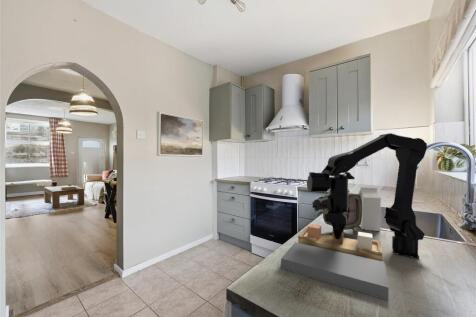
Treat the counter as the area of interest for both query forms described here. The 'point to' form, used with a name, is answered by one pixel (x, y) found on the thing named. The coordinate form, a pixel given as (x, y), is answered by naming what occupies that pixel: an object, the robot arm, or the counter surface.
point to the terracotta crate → (314, 231)
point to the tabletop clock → (354, 214)
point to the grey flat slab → (338, 269)
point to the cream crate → (365, 240)
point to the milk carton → (370, 208)
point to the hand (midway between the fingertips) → (338, 236)
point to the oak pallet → (342, 245)
